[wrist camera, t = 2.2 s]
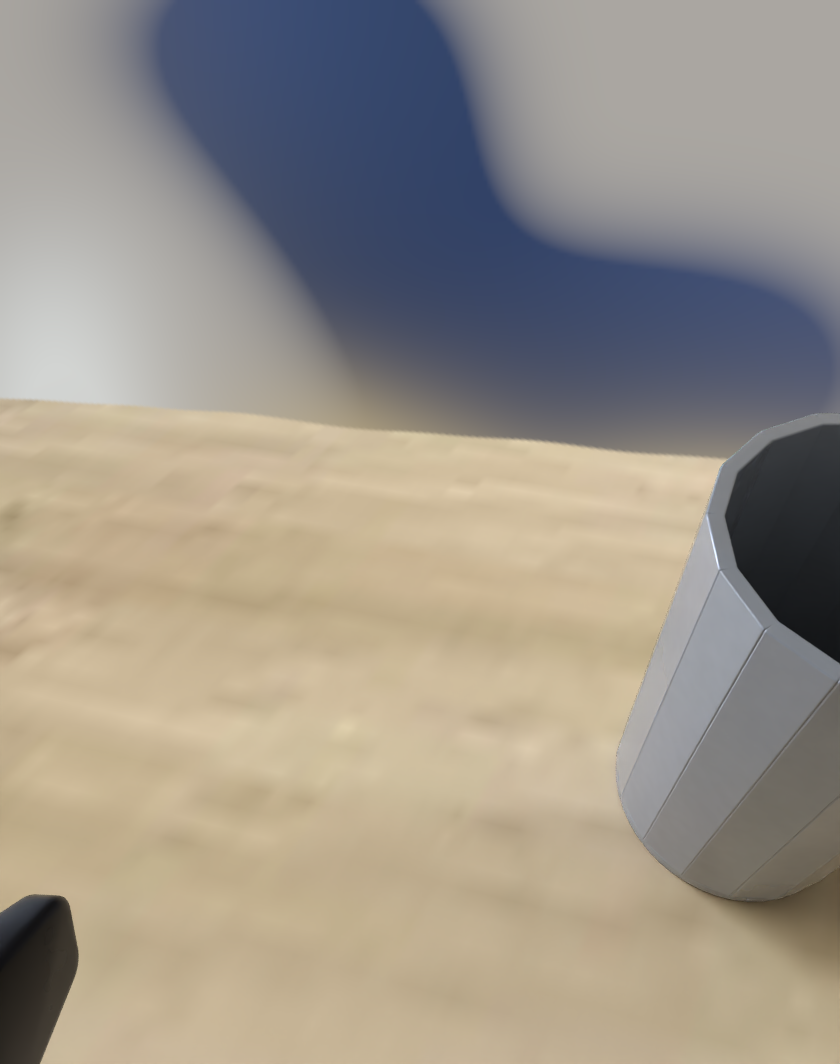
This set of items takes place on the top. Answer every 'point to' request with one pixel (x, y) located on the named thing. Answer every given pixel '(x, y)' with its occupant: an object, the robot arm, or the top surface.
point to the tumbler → (748, 680)
